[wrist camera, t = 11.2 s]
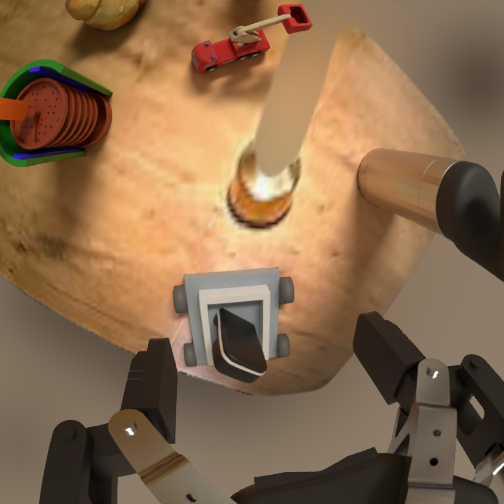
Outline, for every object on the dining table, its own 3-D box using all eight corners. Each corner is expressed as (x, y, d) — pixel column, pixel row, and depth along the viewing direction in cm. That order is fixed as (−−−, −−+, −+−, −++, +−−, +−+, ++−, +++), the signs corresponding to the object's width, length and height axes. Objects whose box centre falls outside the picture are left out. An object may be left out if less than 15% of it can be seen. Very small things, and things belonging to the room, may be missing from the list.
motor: (105, 157, 33) (23, 176, 15) (53, 153, 31) (-41, 172, 13) (120, 86, 30) (50, 43, 12) (66, 85, 28) (-21, 59, 10)
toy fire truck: (188, 57, 30) (184, 31, 21) (282, 28, 30) (304, 1, 21) (197, 76, 32) (196, 55, 23) (291, 47, 32) (316, 23, 23)
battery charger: (206, 322, 43) (209, 374, 33) (219, 305, 42) (226, 355, 32) (242, 340, 46) (253, 390, 35) (256, 324, 45) (271, 374, 34)
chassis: (287, 266, 44) (295, 277, 40) (283, 350, 50) (288, 364, 46) (174, 275, 41) (171, 287, 37) (188, 360, 47) (188, 375, 44)
